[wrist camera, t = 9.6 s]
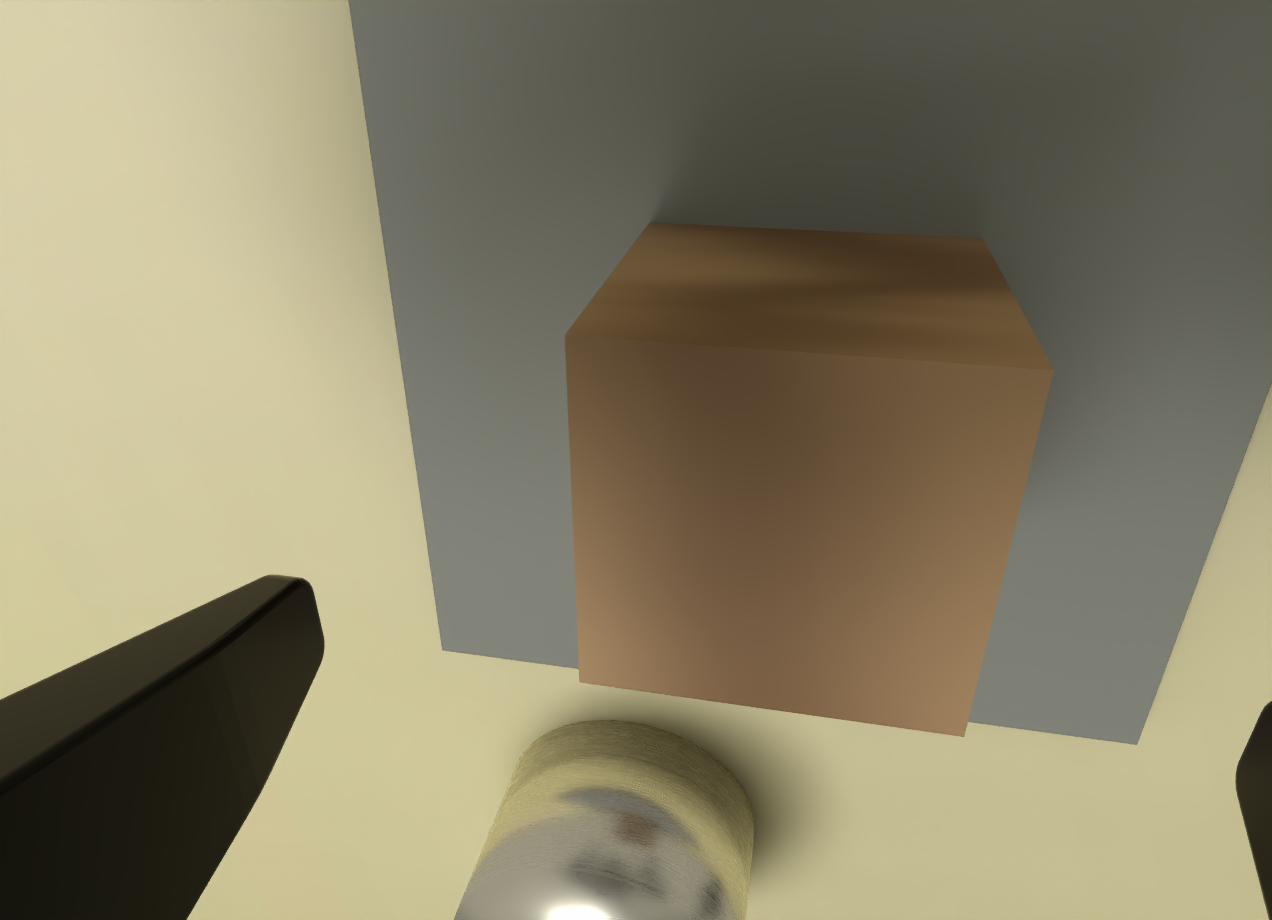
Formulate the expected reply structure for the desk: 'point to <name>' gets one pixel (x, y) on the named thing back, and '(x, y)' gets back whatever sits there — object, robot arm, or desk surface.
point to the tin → (615, 832)
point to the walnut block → (799, 468)
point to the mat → (845, 202)
